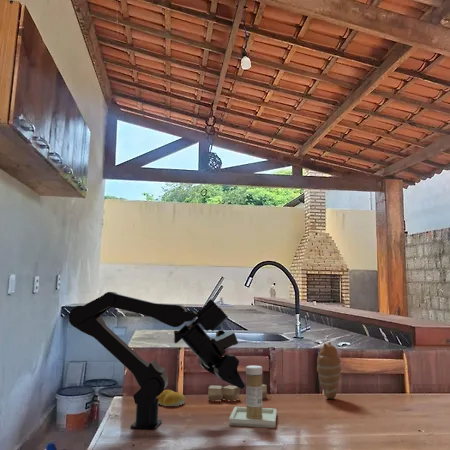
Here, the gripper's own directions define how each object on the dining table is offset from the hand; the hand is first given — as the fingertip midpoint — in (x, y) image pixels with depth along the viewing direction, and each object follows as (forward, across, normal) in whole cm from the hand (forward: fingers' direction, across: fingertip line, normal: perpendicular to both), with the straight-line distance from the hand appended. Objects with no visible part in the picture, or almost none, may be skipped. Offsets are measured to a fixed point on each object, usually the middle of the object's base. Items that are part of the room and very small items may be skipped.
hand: (237, 383), depth 111 cm
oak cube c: (+18, +22, -5) cm, 29 cm away
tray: (+10, 0, +3) cm, 11 cm away
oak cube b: (+12, +22, +2) cm, 25 cm away
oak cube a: (+8, +24, +6) cm, 26 cm away
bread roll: (-2, +24, +16) cm, 29 cm away
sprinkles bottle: (+10, -1, +3) cm, 10 cm away
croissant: (+34, +13, -21) cm, 42 cm away
